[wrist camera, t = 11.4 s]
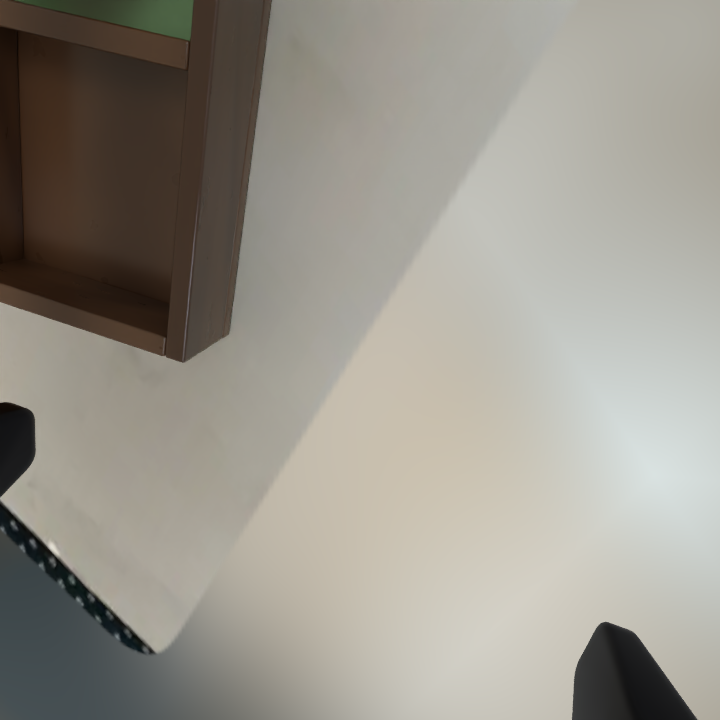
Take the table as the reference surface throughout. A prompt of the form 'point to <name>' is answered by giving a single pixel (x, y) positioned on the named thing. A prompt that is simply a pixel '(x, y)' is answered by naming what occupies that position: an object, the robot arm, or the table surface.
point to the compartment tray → (128, 163)
